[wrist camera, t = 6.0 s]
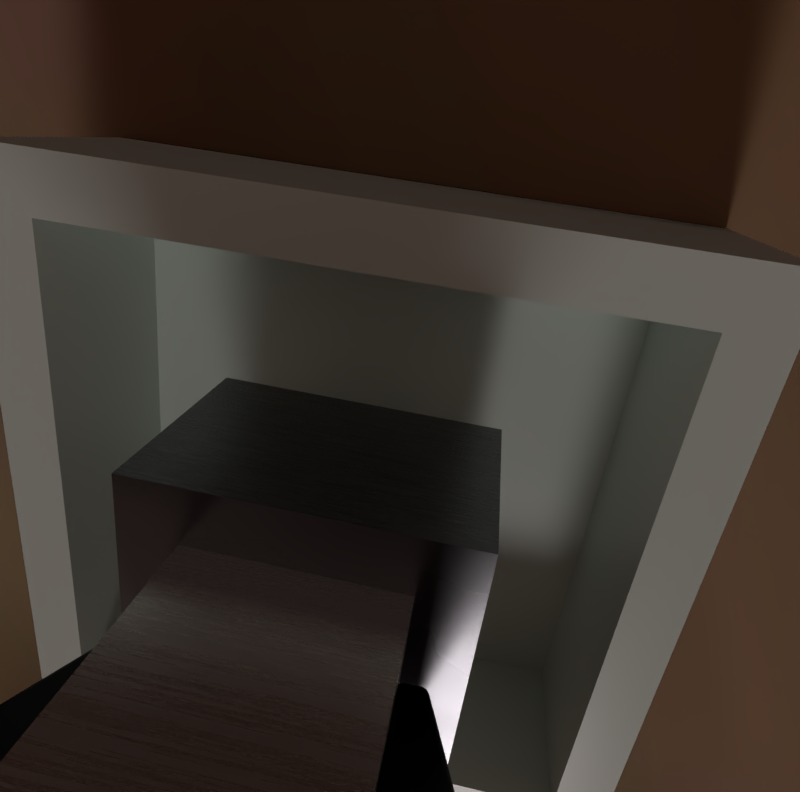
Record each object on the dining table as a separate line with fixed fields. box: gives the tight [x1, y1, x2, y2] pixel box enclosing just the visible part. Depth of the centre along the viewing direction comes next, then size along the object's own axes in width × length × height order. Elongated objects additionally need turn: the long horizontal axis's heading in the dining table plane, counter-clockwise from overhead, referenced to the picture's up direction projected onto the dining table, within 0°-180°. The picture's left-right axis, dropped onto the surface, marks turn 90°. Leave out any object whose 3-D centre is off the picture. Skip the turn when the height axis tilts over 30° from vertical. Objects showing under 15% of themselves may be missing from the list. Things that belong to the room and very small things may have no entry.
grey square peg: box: [0, 378, 502, 792], centre depth 8 cm, size 5×5×8 cm
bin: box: [0, 137, 800, 792], centre depth 12 cm, size 12×12×4 cm
